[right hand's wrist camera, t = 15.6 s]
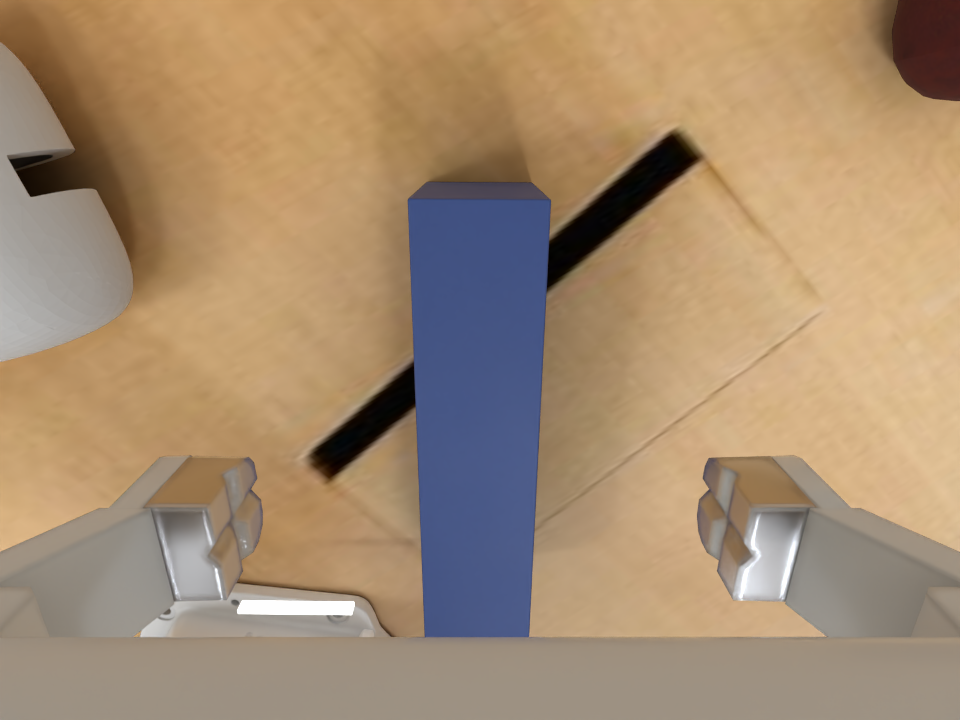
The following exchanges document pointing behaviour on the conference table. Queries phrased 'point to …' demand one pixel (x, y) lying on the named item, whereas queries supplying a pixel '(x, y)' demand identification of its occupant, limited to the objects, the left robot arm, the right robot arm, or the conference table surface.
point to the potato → (928, 46)
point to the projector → (50, 233)
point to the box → (478, 398)
